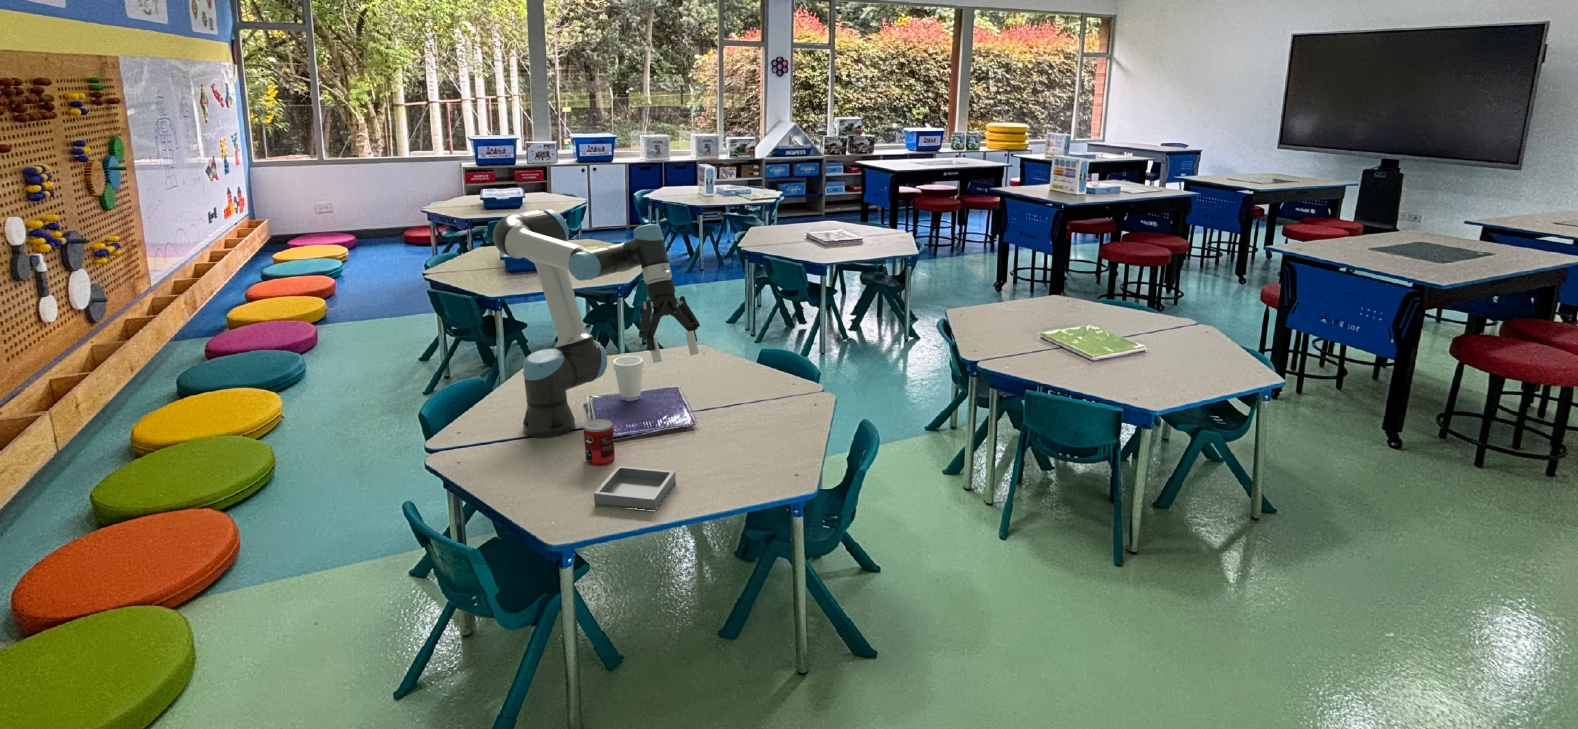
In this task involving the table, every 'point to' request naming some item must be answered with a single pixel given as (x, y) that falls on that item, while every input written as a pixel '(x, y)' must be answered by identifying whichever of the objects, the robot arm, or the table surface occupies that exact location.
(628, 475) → the tray
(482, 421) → the table surface
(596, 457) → the canned food
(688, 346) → the robot arm
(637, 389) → the foam cup
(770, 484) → the table surface
